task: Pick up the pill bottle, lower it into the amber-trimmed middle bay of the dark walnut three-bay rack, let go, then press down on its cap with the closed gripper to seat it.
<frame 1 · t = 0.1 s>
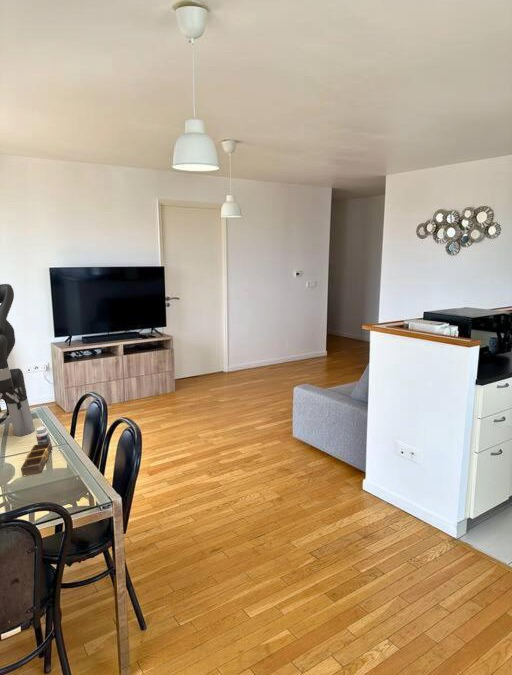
hand: (9, 410, 217), 17 cm above the table, tool pointing down, fingers open, 8 cm apart
candle holder: (24, 416, 254), on the table
pill bottle: (44, 445, 218), on the table
rack: (38, 461, 203), on the table
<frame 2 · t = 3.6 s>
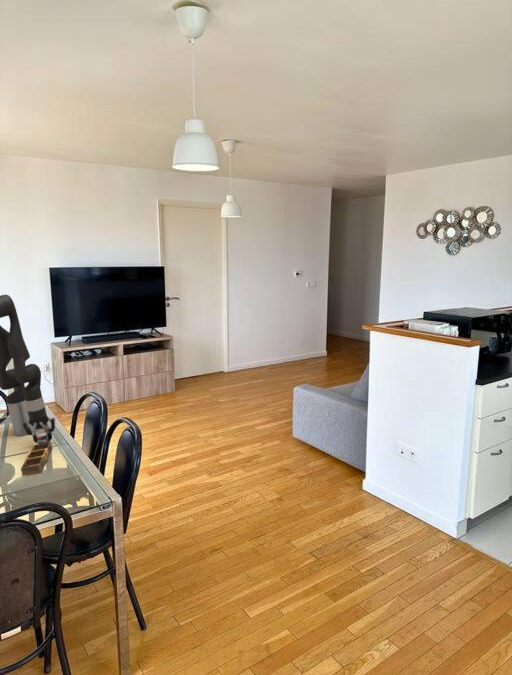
hand: (43, 440, 217), 2 cm above the table, tool pointing down, fingers closed on pill bottle, 5 cm apart
pill bottle: (44, 445, 218), on the table, touching gripper
everything else where it was.
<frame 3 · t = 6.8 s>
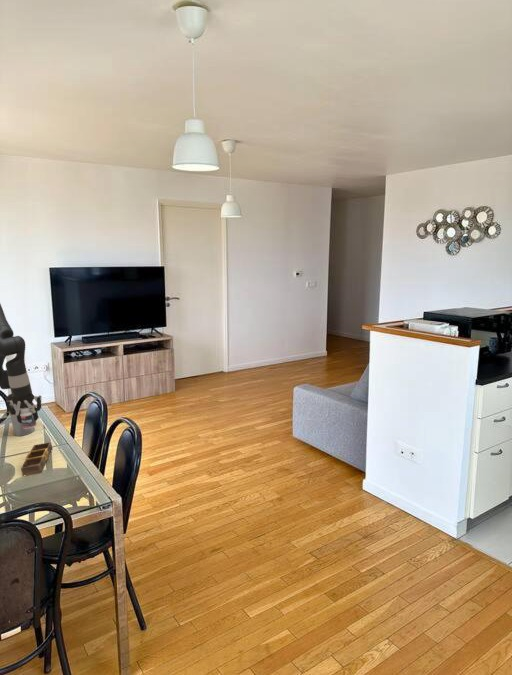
hand: (28, 421, 198), 19 cm above the table, tool pointing down, fingers closed on pill bottle, 5 cm apart
pill bottle: (29, 426, 198), point 17 cm above the table, touching gripper
everything else where it was.
when the fingers open (5 cm above the table, at t = 10.2 s): pill bottle drops 2 cm, resting on rack.
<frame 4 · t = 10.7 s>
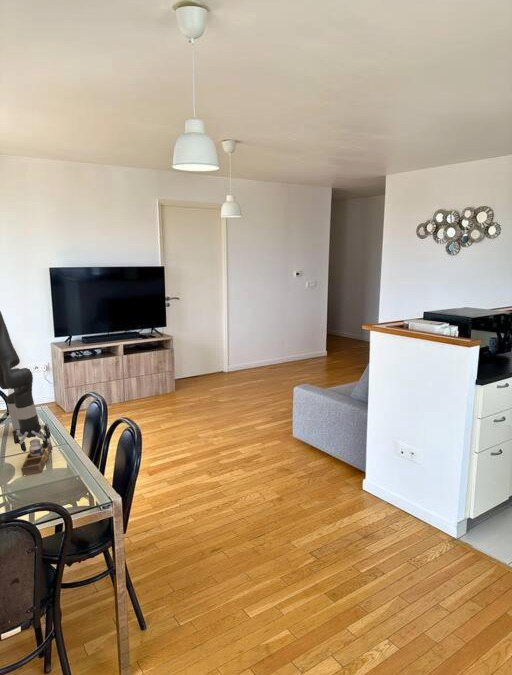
hand: (35, 449, 201), 6 cm above the table, tool pointing down, fingers open, 8 cm apart
pill bottle: (38, 459, 203), point 1 cm above the table, touching rack
everything else where it was.
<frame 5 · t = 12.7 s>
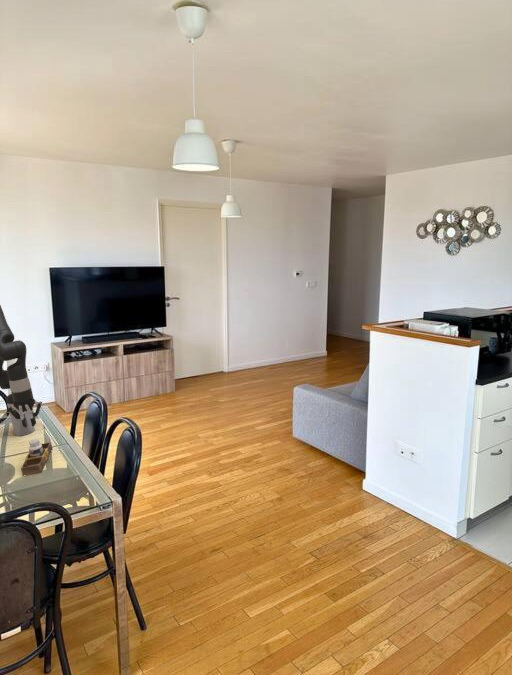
hand: (29, 426, 198), 17 cm above the table, tool pointing down, fingers closed
nothing on the table moved.
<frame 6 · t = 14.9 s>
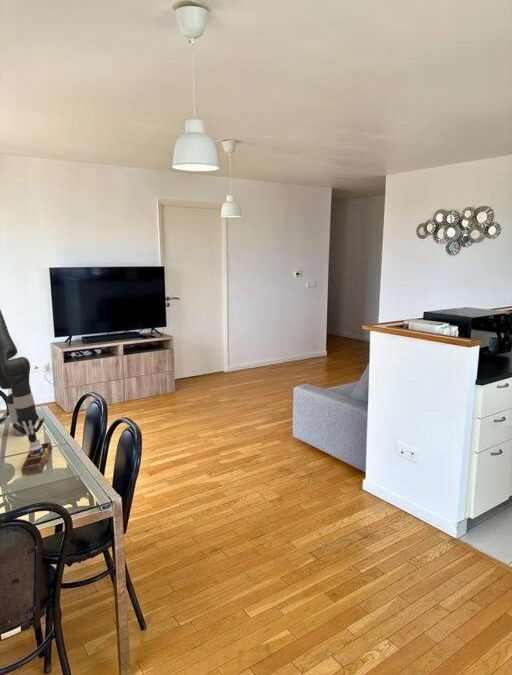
hand: (33, 441, 200), 10 cm above the table, tool pointing down, fingers closed
pill bottle: (38, 460, 203), point 1 cm above the table, touching gripper, rack
everything else where it was.
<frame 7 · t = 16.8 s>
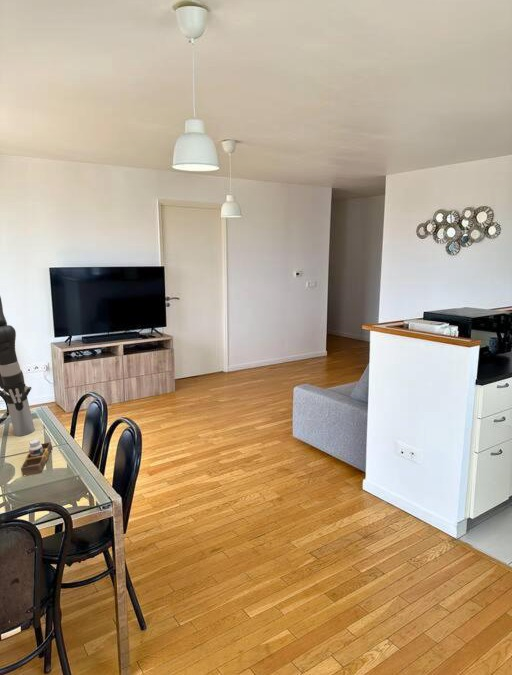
hand: (20, 409, 201), 23 cm above the table, tool pointing down, fingers closed
pill bottle: (38, 460, 203), point 1 cm above the table, touching rack
everything else where it was.
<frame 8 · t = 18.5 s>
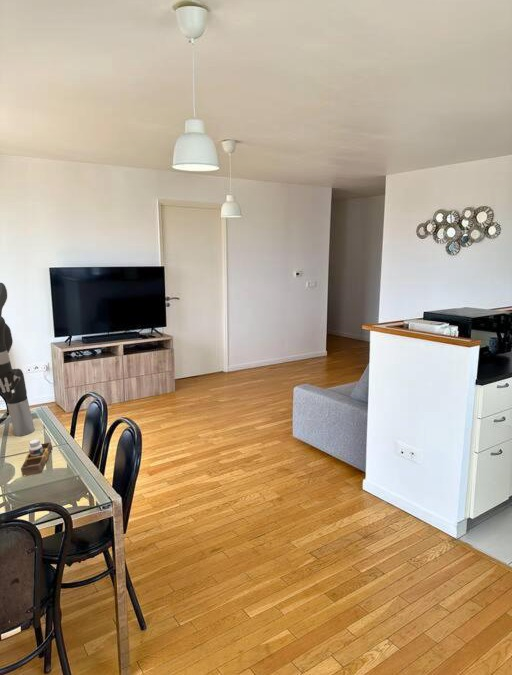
hand: (9, 399, 204), 27 cm above the table, tool pointing down, fingers closed
nothing on the table moved.
at the end: pill bottle 0.2 cm off-centre on the rack, point 0.8 cm above the rack's base; pill bottle tilted 0°; the gripper is holding nothing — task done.
